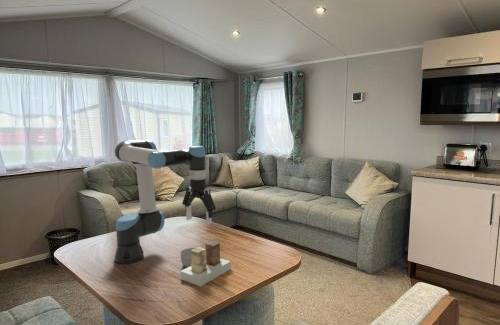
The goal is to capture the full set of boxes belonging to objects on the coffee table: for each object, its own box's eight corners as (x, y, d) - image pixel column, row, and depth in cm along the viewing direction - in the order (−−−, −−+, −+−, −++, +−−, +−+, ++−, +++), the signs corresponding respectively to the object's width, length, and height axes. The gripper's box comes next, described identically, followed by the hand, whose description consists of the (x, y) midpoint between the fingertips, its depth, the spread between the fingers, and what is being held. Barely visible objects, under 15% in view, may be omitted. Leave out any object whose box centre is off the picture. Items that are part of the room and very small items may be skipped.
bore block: (180, 279, 159) (180, 271, 159) (211, 263, 177) (211, 255, 177) (200, 286, 152) (200, 278, 151) (231, 268, 170) (230, 261, 169)
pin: (199, 272, 164) (198, 246, 162) (206, 275, 161) (205, 249, 159) (191, 276, 160) (190, 250, 158) (199, 279, 157) (198, 252, 155)
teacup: (181, 271, 168) (181, 255, 167) (180, 262, 179) (179, 248, 178) (209, 267, 172) (208, 252, 171) (206, 259, 182) (205, 245, 181)
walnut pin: (206, 268, 168) (205, 243, 166) (212, 265, 172) (212, 240, 170) (213, 271, 165) (213, 245, 164) (220, 267, 169) (219, 242, 168)
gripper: (174, 176, 165) (175, 218, 167) (211, 182, 150) (212, 228, 153) (185, 174, 170) (186, 215, 173) (222, 180, 156) (223, 224, 159)
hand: (198, 221), depth 163 cm, fingers open, 13 cm apart
